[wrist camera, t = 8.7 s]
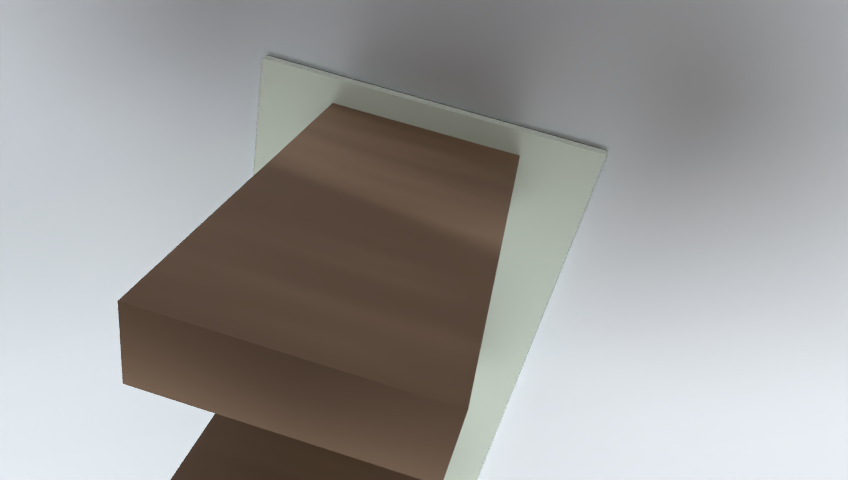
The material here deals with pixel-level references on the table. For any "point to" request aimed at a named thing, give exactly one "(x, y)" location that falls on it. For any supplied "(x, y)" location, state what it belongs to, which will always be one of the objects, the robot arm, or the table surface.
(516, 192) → the mat
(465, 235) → the domino
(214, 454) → the domino
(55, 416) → the table surface
